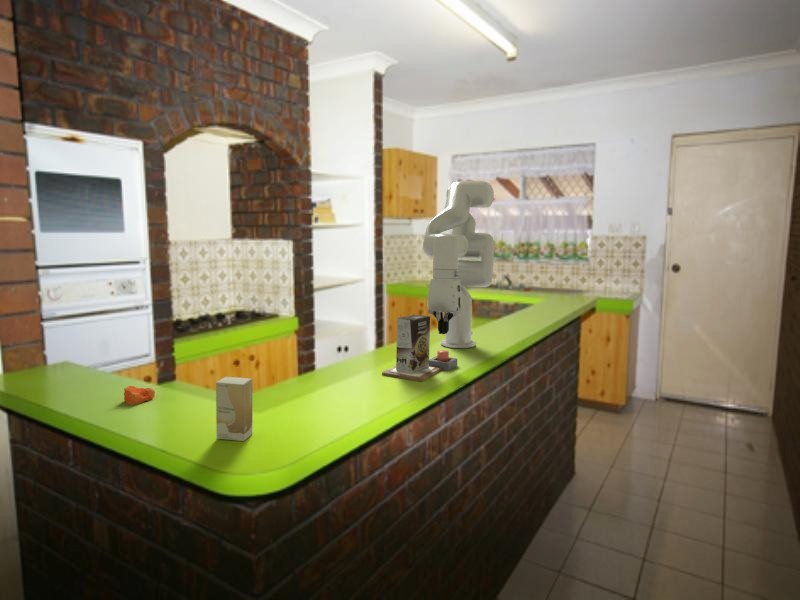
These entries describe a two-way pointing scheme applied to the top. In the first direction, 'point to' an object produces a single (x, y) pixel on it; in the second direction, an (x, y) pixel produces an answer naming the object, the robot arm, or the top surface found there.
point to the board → (415, 376)
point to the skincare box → (234, 408)
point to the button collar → (443, 363)
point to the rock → (137, 395)
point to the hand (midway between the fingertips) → (443, 333)
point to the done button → (443, 355)
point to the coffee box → (413, 343)
